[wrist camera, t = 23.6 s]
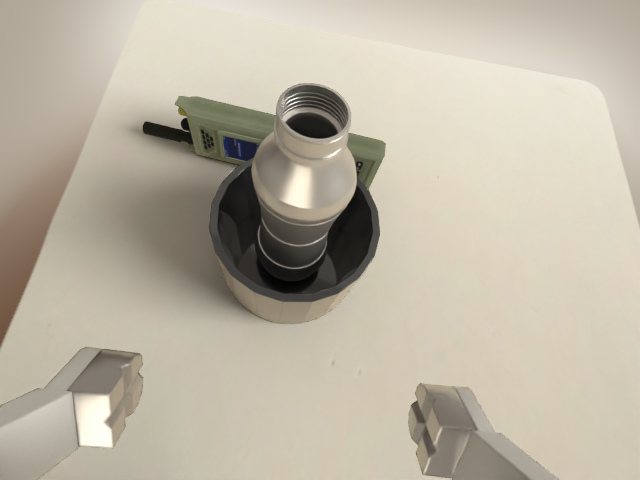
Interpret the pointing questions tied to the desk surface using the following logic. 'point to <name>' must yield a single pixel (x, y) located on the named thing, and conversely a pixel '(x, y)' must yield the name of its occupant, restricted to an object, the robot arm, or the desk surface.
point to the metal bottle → (302, 180)
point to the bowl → (275, 294)
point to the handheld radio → (247, 134)
